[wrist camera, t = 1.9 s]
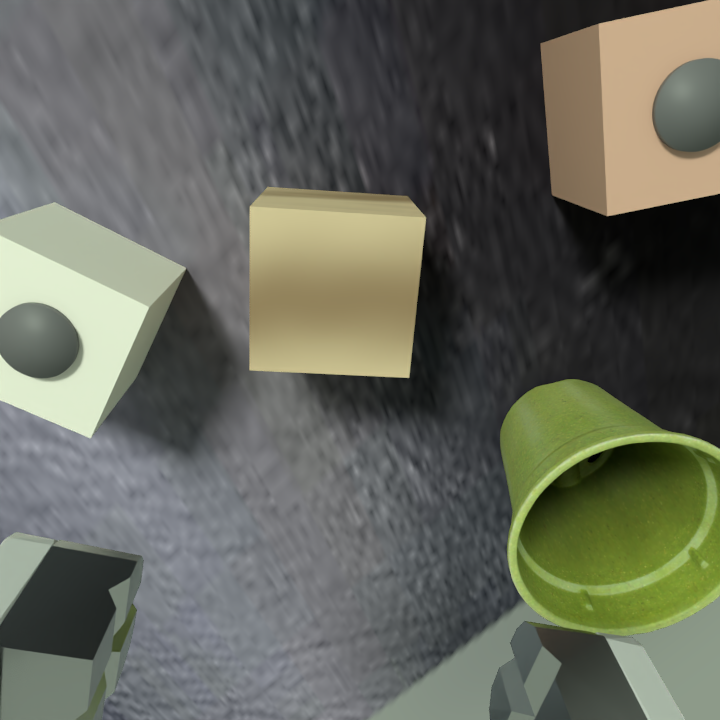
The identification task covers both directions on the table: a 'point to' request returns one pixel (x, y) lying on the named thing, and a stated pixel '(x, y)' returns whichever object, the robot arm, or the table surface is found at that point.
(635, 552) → the plant pot
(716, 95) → the dot block tan
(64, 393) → the dot block cream
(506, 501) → the table surface
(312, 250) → the oak block
